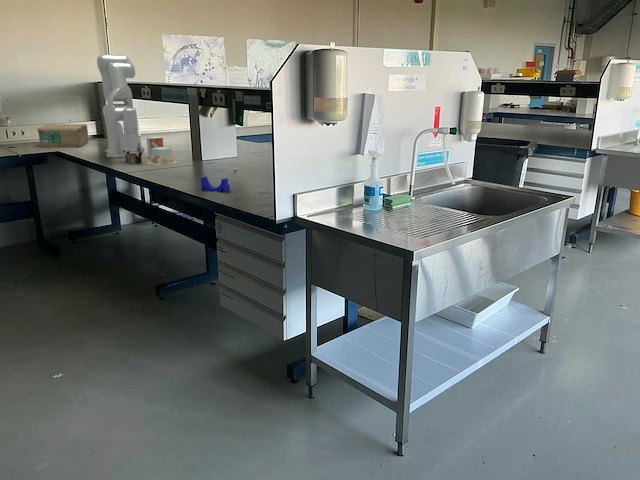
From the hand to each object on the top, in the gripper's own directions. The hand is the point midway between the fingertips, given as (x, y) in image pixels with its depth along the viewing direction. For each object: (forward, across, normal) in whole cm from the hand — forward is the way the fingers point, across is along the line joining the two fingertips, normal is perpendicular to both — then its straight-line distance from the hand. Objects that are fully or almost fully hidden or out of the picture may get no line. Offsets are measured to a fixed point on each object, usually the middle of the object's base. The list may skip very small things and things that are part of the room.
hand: (133, 162), depth 301 cm
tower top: (-3, +11, +11) cm, 16 cm away
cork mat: (+1, +11, +11) cm, 16 cm away
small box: (+1, -3, +21) cm, 21 cm away
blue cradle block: (+2, +82, -32) cm, 89 cm away
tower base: (+1, +11, +11) cm, 16 cm away
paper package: (+1, -98, +33) cm, 104 cm away
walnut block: (+1, 0, 0) cm, 1 cm away
